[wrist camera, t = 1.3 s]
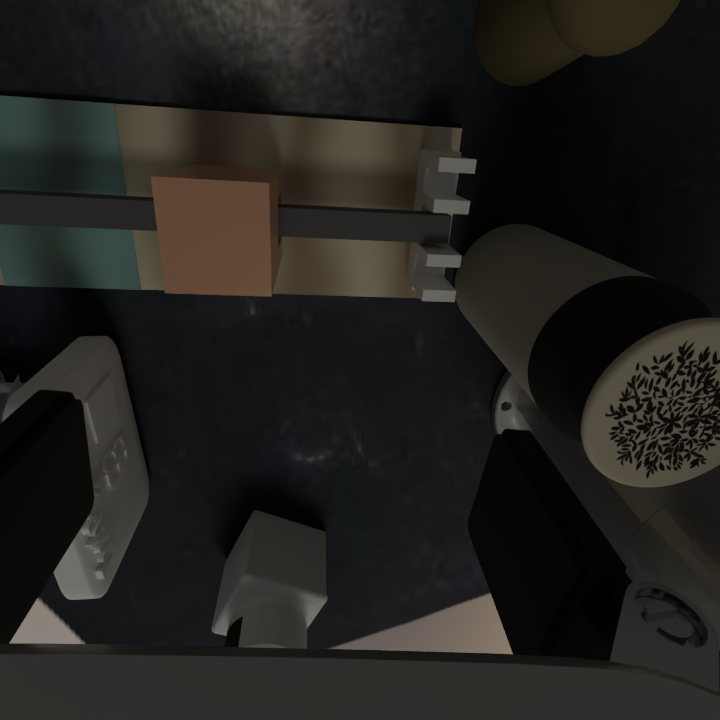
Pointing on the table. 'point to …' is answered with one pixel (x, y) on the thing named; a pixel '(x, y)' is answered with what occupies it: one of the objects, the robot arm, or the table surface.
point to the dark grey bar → (291, 217)
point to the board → (207, 147)
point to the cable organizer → (95, 458)
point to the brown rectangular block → (219, 229)
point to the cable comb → (437, 197)
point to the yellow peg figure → (559, 33)
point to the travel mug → (600, 352)
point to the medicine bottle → (272, 584)
